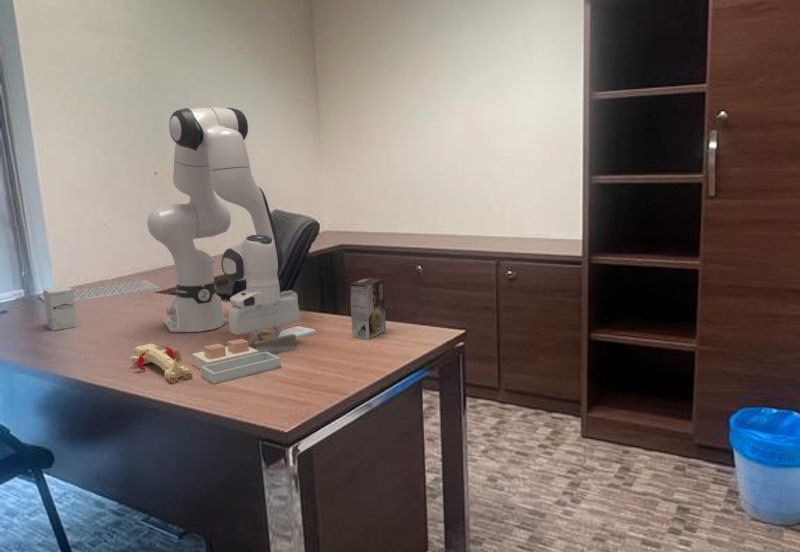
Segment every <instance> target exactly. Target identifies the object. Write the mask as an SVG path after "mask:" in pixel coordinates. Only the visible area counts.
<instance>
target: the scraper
mask: <svg viewBox="0 0 800 552" xmlns="http://www.w3.org/2000/svg"><path fill="white" fill-rule="evenodd" d="M256 335H257V336H258V338H261V339H262V340H263V341H259V342H255V339H254V338H253V337H252V335H251V334H250V332H248V333H247V337H248V338H247V339H248V340H247V341H248V346H250V347H252V348H253V349H256V350H258V351H259V353H262V352H266V351H267V352H269V353H271V354H273V355H276V354H280V353H285V352H286V353H287V352H289V351H293V350H297V339H296V335H294V334H290V335H286V336H281V337H278V336H275V335H273V334H272V333H270V332H268V331H265V330H264V329H262V330H258V334H256Z"/></svg>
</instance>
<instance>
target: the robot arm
mask: <svg viewBox="0 0 800 552" xmlns="http://www.w3.org/2000/svg"><path fill="white" fill-rule="evenodd" d="M168 126H169V134H170V137H171V139H172V140H173V142H174V143H175V146H174V155H173V175H172V176H173V178H172V183H173V185H174V186H175V188H176V189H177V191H179V192H180V193H182V194H185V195H186V196H189V202H188V203H179V204H169V205H164V206H160V207H158V208H155V209H154V208H153V209H152V210H151V211H150V212H149V215H148V218H147V223H146V224H147V229H148V232H149V234H150V235H151V236H152V238H153V239H155V241H158V242H159V243H161V244H162V245H164V247H165V248H166V249H167V250H168V251H169V253H170V254H171V257H172V259H173V262H174V269H175V273H176V282H177V283H176V286H175V296H176V297H175V298H174V299H173V300H172V302H171V303H170V305H169V307H167V308H166V315H167V316H170V317H169V318H165V319H164V320H163V324H164V326H166V328H167V329H168V331H169V332H170V333H181V332H182V333H190V332H191V333H196V332H198V333H199V332H206V331H211V330H216V329H218V328H220V327H222V326H223V325H224V324H226V323H228V328H229V329H228V330H229V331H230V333H232V334H234V335H242V334H248V332H250V334H251V335H252V337H253V338H254V339H255V342H259V341H263V340H262V339H261V338H258V336H257V335H256V334H258V330H267V329H270V328H271V329H272V328H273V329H274V332H273V333H274V335H275V336H278V337H279V334H280V332H281V331H283V328H282V327H283V326H285V325H291V324H295V323H299V321H300V319H301V314H300V308H299V303H298V302H299V299H298V294H297V292H296V291H294V290H292V289H291V290H290V289H289V290H285V291H280V280H279V278H278V277H279V276H278V274H279V273H280V272H281V271H282V269H283V267H284V264H285V261H286V260H285V259H286V258H285V254H284V251H283V248H282V246H281V244H280V242H279V239H278V236H277V233H276V228H275V225H274V221H273V218H272V217H273V216H272V214H271V211H270V207H269V204H268V199H267V198H266V195H265V192H264V190H262V188H261V187H259V186H258V184H257V183H256V181H255V179H254V177H253V175H252V171H251V165H250V159H249V153H248V149H247V147H246V142H245V139H246V138H247V136H248V132H249V124H248V120H247V117H246V115H245V114H244V113H243V111H242V110H239V109H237V108H233V107H217V106H207V107H196V108H182V109H181V108H180V109H178V110H175V111H174V112H173V113H172V115H171V117H170V118H169V125H168ZM216 195H217V196H218V197H219V198H220V199H222V200H223V201H225V202H228V203H231V204H233V205H236V206H238V207H239V206H240V207H241V208H243V209H245V210H246V211H247V212H248V213H249V214H250V217H251V220H252V223H253V227H254V231H255V234H251V235H249V236H247V237H245V238H244V240H243V242H241V243H239V244H237V245H234V246H233V247H229V248H227V249H225V251H224V253H223V254H222V257H221V260H220V261H221V270H222V273H223V274H224V275H225V276H226V277H227V278H228V279H229V280H231V281H237V282H240V281H246V288H245V289H243V290H241V291H239V292H237V293H236V294H234V295H232V296H231V297H230V298H229V303H230V304H231V305H232V306H230V308H229V310H228V317H225V316H224V315H225V314H224V310H223V303H222V302H223V301H222V299H221V296H220V295H217V284H216V281H215V278H214V277H215V276H214V265H213V258H212V257H211V256H210V254H208V253H207V252H206V251H203V250H201V249H198V248H196V246H195V244H194V239H204V238H212V237H215V236H218V235H222V234H224V233H226V232H227V231H228V230H229V228H230V226H231V223H232V222H231V221H232V217H231V216H232V215H231V213H230V210H229V209H228V208H227V206H226V205H225V204H224V203H222V202H221V201H220V200H219V198H217V196H216Z"/></svg>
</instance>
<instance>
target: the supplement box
mask: <svg viewBox="0 0 800 552" xmlns="http://www.w3.org/2000/svg"><path fill="white" fill-rule="evenodd" d="M42 291H43V295H44V300H45V302H44V307H45V314H46V322H47V328H49V329H50V330H52V331H53V332H55V331H59V330H64V329H70V328H76V327H78V323H77V315H76V306H75V301H74V296H73V288H71V287H68V286H62V287H54V288H47V289H46V288H45V289H43V290H42Z"/></svg>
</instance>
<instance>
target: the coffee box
mask: <svg viewBox="0 0 800 552" xmlns="http://www.w3.org/2000/svg"><path fill="white" fill-rule="evenodd" d="M384 283H385V282H384V279H383V278H382V279H380V278H379V279H378V278H375V277H365V278H362V279H359V280H357V281H353V282H351V283H349V293H350V296H349V297H350V312H351V313H350V315H351V332H352V333H351V334H352V335H351V336H352V338H355V337H358V338H357V339H362V338H365V339H364V340H372V339H373V337H374V338H376V337H377V335H378V334H380V333H382V332H384V333H386V332H385V331H387V329H386V328H387V327H386V325H387V324H386V305H385V304H386V303H385V286H384ZM382 334H383V333H382ZM380 335H381V334H380ZM375 336H376V337H375ZM378 336H379V335H378ZM371 338H372V339H371Z"/></svg>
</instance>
